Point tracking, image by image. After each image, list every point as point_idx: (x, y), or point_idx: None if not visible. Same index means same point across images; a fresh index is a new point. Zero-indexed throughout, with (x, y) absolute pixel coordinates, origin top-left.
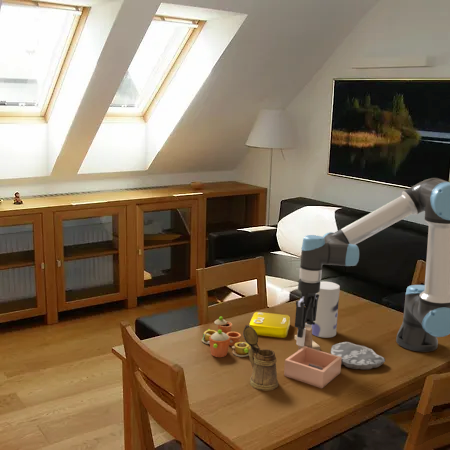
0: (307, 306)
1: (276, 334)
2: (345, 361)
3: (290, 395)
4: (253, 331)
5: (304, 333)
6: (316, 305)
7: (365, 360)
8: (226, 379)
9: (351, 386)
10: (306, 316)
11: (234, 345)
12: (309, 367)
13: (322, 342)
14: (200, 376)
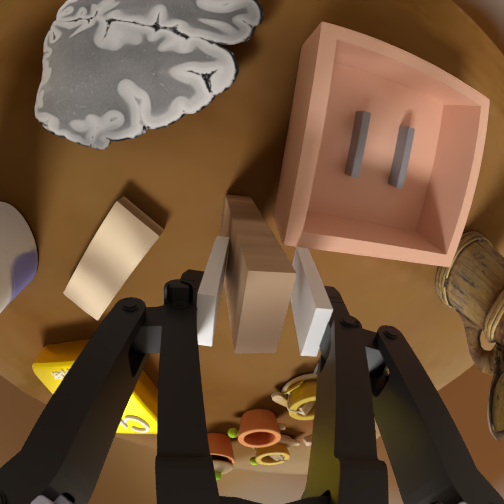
0: (379, 502)
1: None
2: (241, 29)
3: (493, 185)
4: (495, 414)
5: (324, 289)
6: (64, 418)
7: None
8: (447, 344)
9: (378, 5)
10: (343, 394)
11: (272, 413)
12: (480, 158)
13: (59, 216)
14: (438, 380)
